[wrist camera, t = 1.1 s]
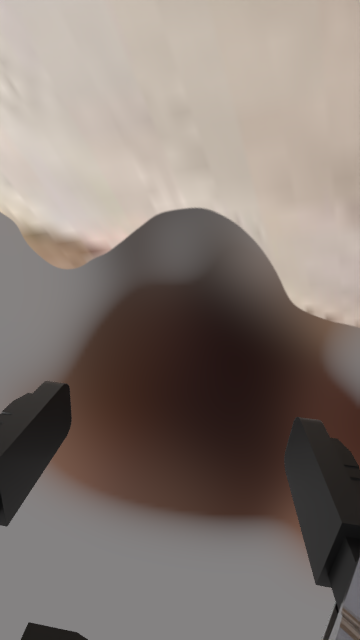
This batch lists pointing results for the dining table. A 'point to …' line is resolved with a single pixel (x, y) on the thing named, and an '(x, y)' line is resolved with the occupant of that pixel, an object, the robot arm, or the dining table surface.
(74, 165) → the dining table surface
